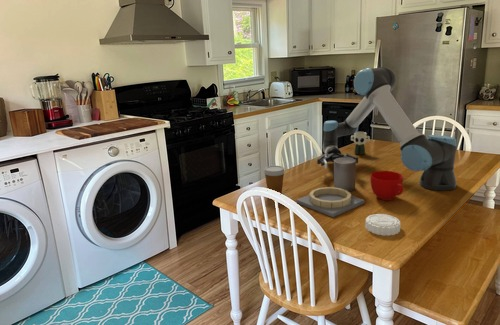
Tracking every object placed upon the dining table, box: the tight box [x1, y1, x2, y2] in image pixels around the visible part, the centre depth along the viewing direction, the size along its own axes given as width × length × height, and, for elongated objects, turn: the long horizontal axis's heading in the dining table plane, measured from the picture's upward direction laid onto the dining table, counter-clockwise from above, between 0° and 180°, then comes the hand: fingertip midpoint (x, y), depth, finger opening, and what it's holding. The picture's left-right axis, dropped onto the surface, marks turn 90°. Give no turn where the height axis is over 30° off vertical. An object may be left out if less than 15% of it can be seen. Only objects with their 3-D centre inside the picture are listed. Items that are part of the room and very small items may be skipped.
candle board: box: [295, 186, 365, 218], centre depth 161 cm, size 20×20×4 cm
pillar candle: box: [333, 157, 357, 193], centre depth 175 cm, size 10×10×15 cm
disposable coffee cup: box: [263, 165, 286, 193], centre depth 174 cm, size 10×10×12 cm
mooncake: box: [364, 213, 401, 237], centre depth 137 cm, size 12×12×4 cm
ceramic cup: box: [370, 170, 404, 201], centre depth 161 cm, size 13×17×10 cm
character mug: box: [350, 131, 371, 155], centre depth 230 cm, size 11×7×13 cm, turn 67°
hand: (340, 165), depth 183 cm, fingers open, 13 cm apart
